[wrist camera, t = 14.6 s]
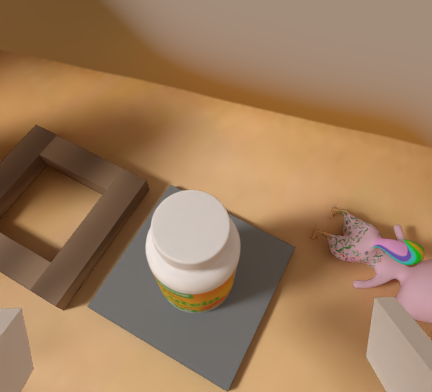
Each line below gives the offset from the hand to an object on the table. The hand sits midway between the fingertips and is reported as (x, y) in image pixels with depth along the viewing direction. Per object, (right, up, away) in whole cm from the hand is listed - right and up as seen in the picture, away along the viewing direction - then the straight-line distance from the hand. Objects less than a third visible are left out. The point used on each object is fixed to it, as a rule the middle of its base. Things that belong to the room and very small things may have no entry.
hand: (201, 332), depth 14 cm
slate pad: (-1, -1, +14) cm, 14 cm away
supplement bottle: (-1, -1, +13) cm, 13 cm away
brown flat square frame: (-12, +4, +16) cm, 20 cm away
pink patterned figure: (+14, -2, +14) cm, 20 cm away
